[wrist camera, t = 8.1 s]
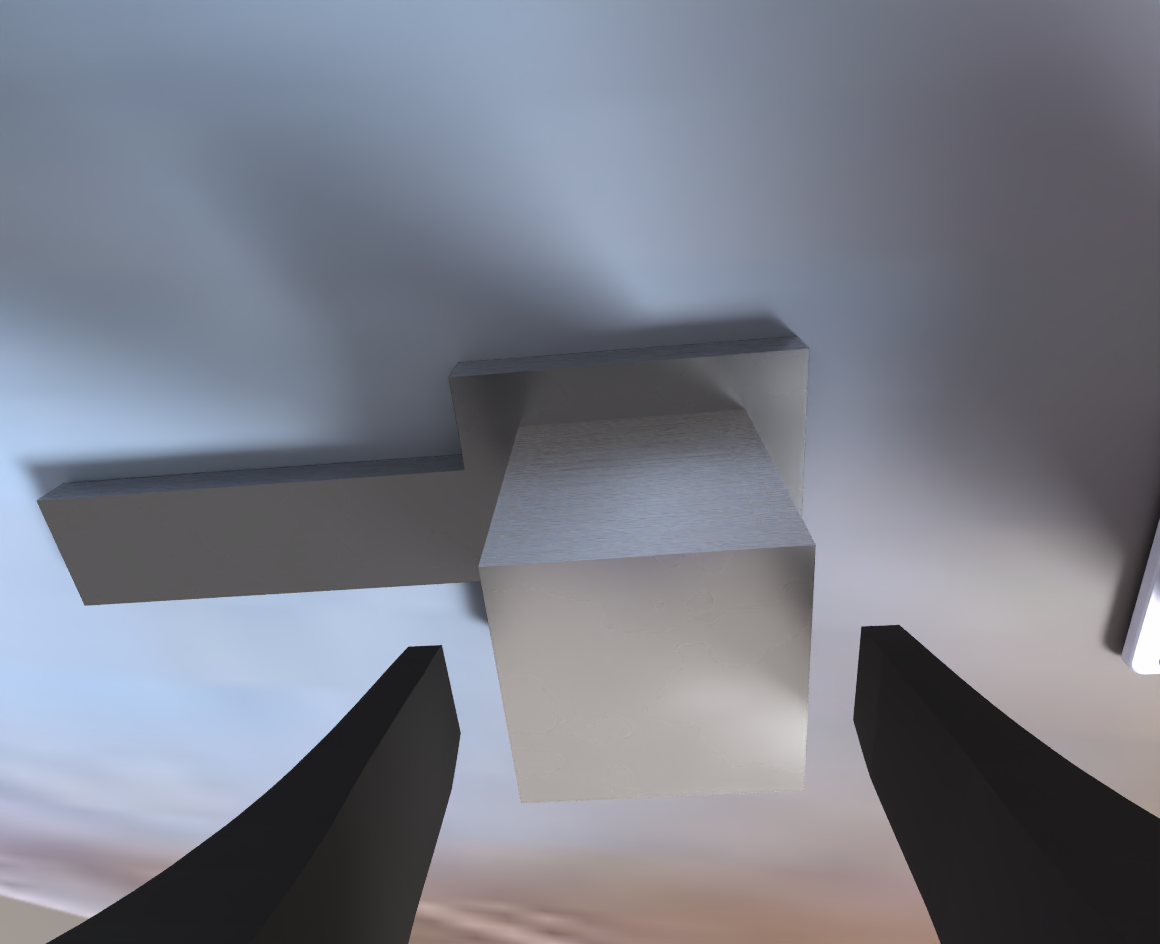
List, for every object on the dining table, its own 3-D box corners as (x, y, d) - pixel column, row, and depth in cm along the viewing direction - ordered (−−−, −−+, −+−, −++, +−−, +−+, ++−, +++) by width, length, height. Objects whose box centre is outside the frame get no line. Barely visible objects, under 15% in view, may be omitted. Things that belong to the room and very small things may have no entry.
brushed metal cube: (745, 409, 16) (815, 545, 11) (744, 599, 19) (804, 791, 13) (518, 427, 17) (477, 567, 11) (544, 611, 19) (521, 803, 14)
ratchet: (795, 334, 17) (851, 393, 13) (786, 615, 20) (828, 727, 16) (25, 397, 18) (-128, 467, 14) (137, 652, 21) (36, 763, 18)
